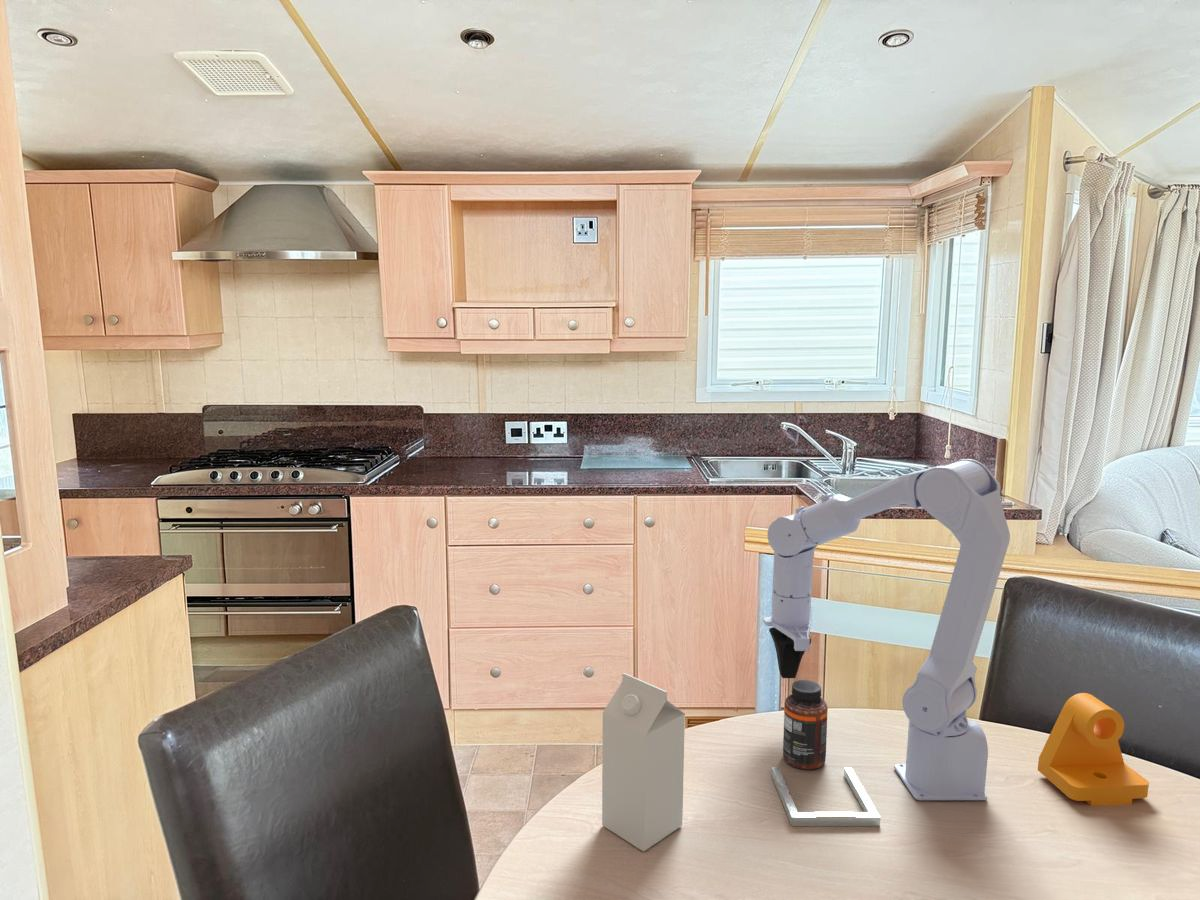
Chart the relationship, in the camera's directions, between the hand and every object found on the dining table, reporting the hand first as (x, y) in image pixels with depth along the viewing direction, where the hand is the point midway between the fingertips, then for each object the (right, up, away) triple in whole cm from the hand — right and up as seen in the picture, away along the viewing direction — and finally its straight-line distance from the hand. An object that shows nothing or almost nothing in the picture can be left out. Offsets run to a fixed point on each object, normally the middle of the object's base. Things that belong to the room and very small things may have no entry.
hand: (787, 676), depth 121 cm
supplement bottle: (0, -10, -9) cm, 13 cm away
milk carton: (-24, -12, -24) cm, 36 cm away
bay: (0, -11, -18) cm, 21 cm away
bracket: (+37, -11, -16) cm, 42 cm away
